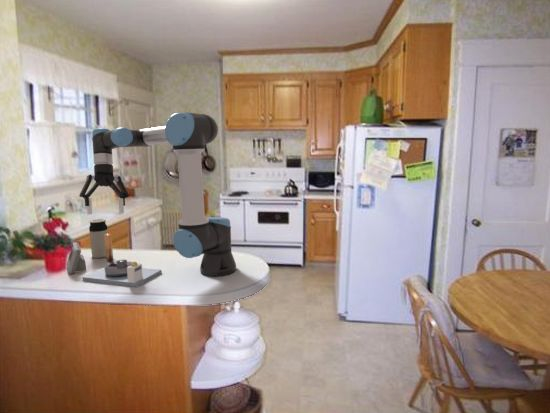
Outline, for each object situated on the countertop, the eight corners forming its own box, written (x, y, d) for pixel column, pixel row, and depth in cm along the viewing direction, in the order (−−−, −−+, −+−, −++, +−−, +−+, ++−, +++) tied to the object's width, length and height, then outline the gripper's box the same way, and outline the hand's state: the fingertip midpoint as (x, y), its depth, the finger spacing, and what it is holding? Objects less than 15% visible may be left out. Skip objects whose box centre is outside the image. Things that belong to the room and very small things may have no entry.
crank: (141, 271, 157) (139, 237, 155) (113, 279, 148) (109, 243, 146) (122, 263, 168) (120, 231, 166) (95, 270, 160) (91, 236, 157)
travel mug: (112, 255, 186) (109, 219, 183) (96, 259, 181) (92, 222, 178) (105, 252, 192) (102, 217, 189) (89, 256, 186) (85, 220, 183)
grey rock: (67, 264, 174) (65, 242, 172) (89, 262, 177) (87, 240, 175) (60, 276, 158) (57, 251, 157) (84, 273, 161) (82, 249, 160)
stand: (161, 273, 160) (160, 252, 158) (137, 286, 145) (135, 264, 143) (110, 268, 168) (109, 248, 166) (82, 280, 153) (80, 259, 151)
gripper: (127, 168, 175) (129, 214, 174) (69, 164, 157) (71, 215, 155) (135, 165, 170) (138, 212, 169) (76, 160, 152) (78, 213, 150)
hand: (106, 213), depth 162 cm, fingers open, 13 cm apart
